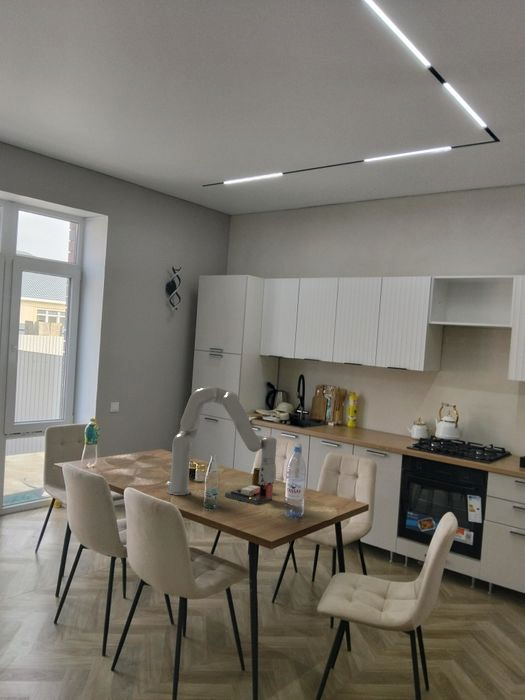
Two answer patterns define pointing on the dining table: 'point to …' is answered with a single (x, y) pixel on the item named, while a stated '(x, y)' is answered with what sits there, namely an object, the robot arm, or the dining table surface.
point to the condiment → (256, 477)
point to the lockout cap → (268, 490)
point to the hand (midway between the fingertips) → (265, 494)
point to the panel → (246, 497)
